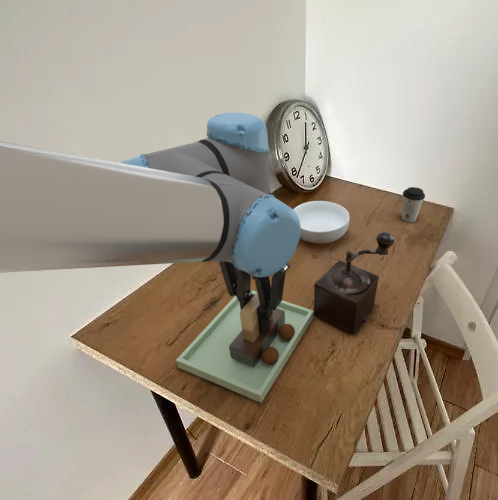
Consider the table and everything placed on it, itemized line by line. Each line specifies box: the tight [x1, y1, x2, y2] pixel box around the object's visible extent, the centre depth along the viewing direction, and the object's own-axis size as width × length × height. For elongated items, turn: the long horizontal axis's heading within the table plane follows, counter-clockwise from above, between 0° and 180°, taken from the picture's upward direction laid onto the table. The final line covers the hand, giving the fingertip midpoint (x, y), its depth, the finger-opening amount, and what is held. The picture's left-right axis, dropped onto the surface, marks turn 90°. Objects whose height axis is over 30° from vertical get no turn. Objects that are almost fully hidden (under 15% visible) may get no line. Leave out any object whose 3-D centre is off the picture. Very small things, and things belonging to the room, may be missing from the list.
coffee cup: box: [401, 186, 426, 223], centre depth 112 cm, size 7×7×10 cm
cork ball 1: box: [261, 347, 279, 364], centre depth 66 cm, size 3×3×3 cm
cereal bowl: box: [292, 200, 350, 245], centre depth 102 cm, size 17×17×7 cm
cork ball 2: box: [279, 324, 295, 340], centre depth 71 cm, size 3×3×3 cm
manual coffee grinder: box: [313, 231, 395, 336], centre depth 76 cm, size 16×11×18 cm
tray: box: [175, 289, 314, 404], centre depth 71 cm, size 22×18×2 cm
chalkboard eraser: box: [229, 293, 285, 367], centre depth 67 cm, size 12×5×10 cm, turn 158°
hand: (258, 325), depth 68 cm, fingers closed on chalkboard eraser, 2 cm apart
